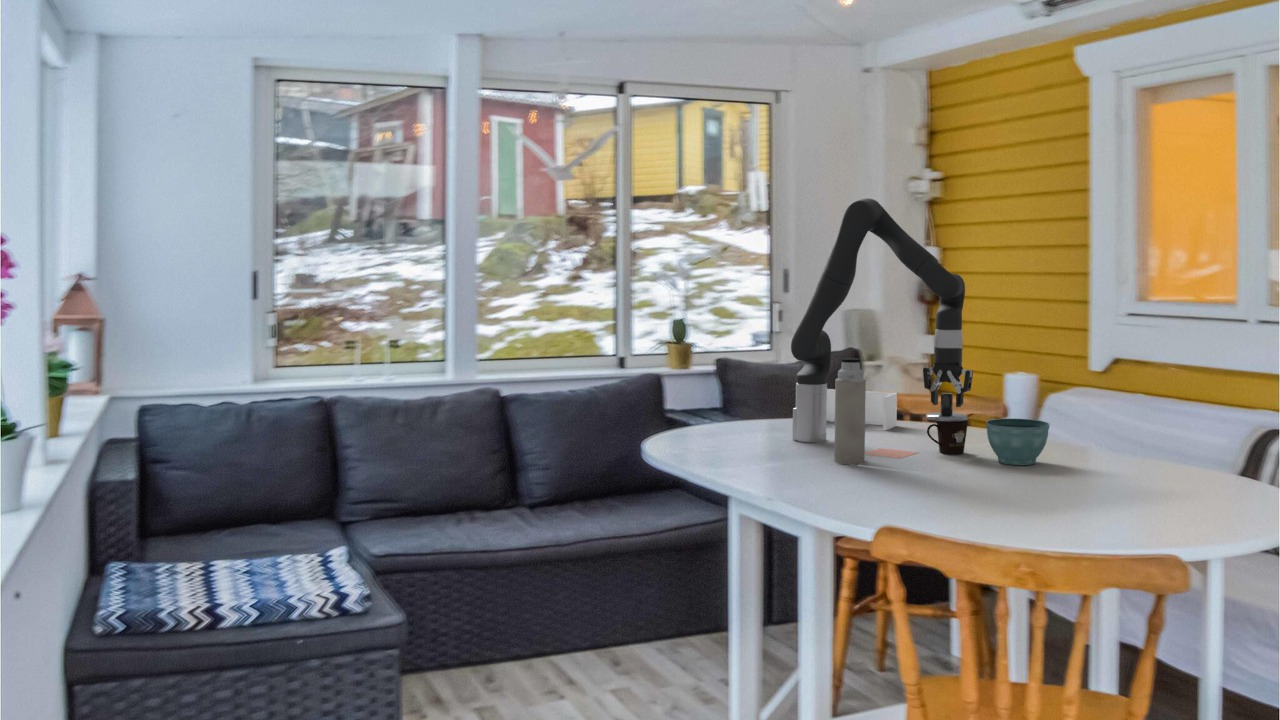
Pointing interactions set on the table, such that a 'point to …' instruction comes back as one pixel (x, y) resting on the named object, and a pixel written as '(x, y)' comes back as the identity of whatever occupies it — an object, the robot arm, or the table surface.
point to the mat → (890, 453)
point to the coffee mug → (950, 436)
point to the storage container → (871, 408)
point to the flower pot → (1017, 439)
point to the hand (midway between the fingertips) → (947, 405)
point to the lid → (946, 410)
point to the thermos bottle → (850, 413)
